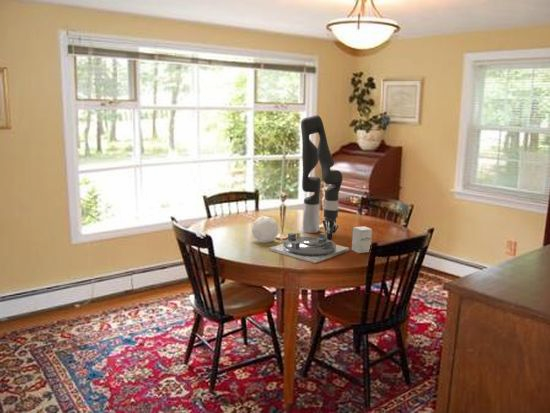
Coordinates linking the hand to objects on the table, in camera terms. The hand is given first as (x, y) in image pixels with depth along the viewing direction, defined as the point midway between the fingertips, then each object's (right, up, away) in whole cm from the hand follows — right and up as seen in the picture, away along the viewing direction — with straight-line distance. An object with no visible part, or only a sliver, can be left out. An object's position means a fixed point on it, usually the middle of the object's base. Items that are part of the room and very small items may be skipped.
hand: (329, 239), depth 270 cm
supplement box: (+16, -6, -3) cm, 18 cm away
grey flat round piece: (-11, -4, -4) cm, 13 cm away
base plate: (-11, -5, -4) cm, 13 cm away
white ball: (-35, -2, +11) cm, 37 cm away
